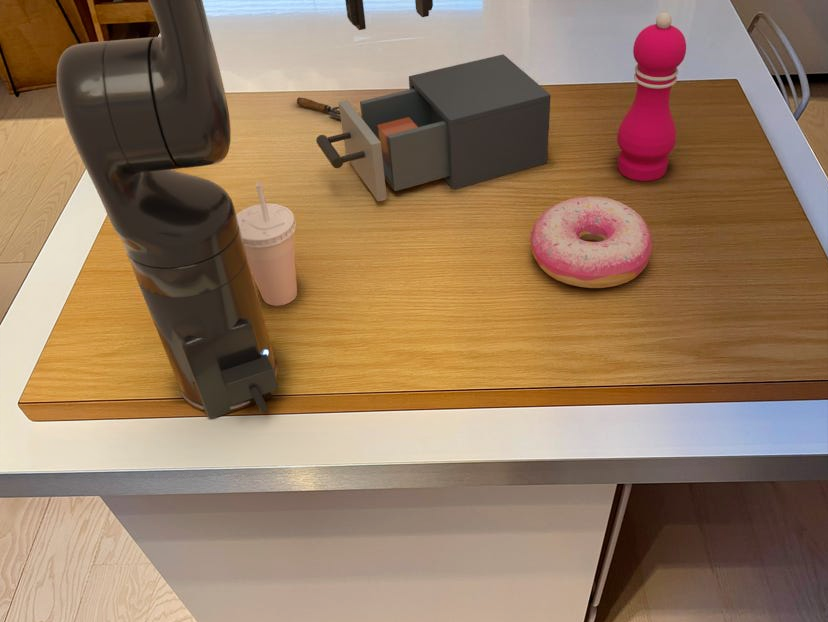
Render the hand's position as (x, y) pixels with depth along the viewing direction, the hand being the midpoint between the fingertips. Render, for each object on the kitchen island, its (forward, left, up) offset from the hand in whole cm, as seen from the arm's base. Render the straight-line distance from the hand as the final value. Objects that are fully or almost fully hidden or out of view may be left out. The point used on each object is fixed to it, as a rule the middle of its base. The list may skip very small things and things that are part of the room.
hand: (391, 20), depth 92 cm
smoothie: (-16, +21, -20) cm, 33 cm away
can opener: (+20, +4, -20) cm, 29 cm away
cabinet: (0, -11, -20) cm, 22 cm away
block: (0, 0, -18) cm, 18 cm away
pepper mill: (-13, -28, -20) cm, 36 cm away
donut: (-26, -12, -20) cm, 35 cm away
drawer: (0, +2, -19) cm, 19 cm away
